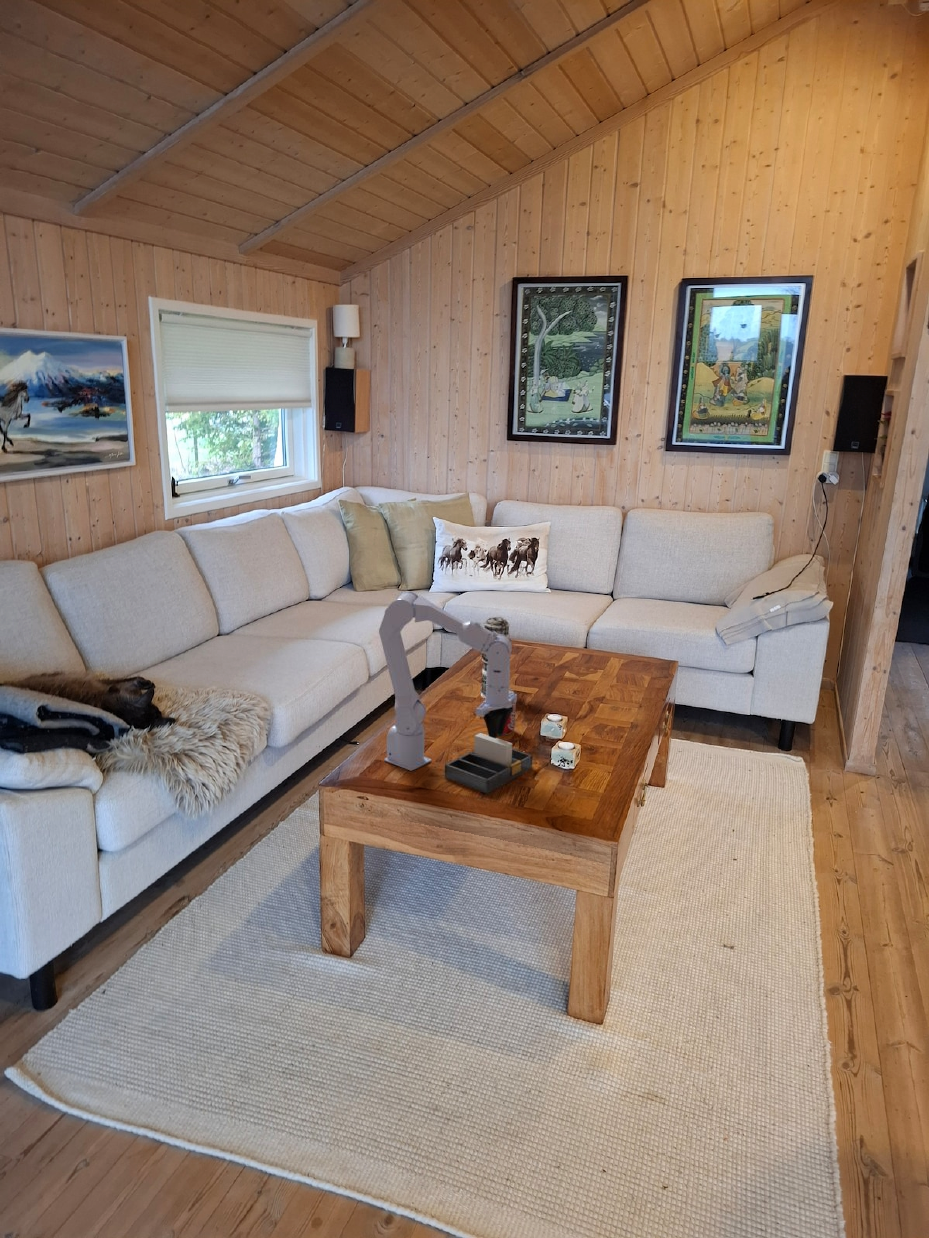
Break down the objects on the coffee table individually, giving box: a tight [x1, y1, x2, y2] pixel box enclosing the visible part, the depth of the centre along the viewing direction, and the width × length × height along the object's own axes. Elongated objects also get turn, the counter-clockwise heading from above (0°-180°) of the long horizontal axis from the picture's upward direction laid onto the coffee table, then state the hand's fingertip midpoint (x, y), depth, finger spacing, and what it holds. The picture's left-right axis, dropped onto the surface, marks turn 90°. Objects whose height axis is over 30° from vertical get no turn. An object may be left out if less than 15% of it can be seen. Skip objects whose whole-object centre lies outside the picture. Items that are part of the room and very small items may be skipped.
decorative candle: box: [480, 616, 512, 700], centre depth 265 cm, size 9×9×25 cm
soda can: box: [502, 688, 517, 736], centre depth 238 cm, size 7×7×12 cm
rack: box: [444, 748, 534, 795], centre depth 214 cm, size 13×19×4 cm
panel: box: [473, 732, 513, 767], centre depth 215 cm, size 10×2×7 cm, turn 52°
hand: (495, 735), depth 214 cm, fingers closed
